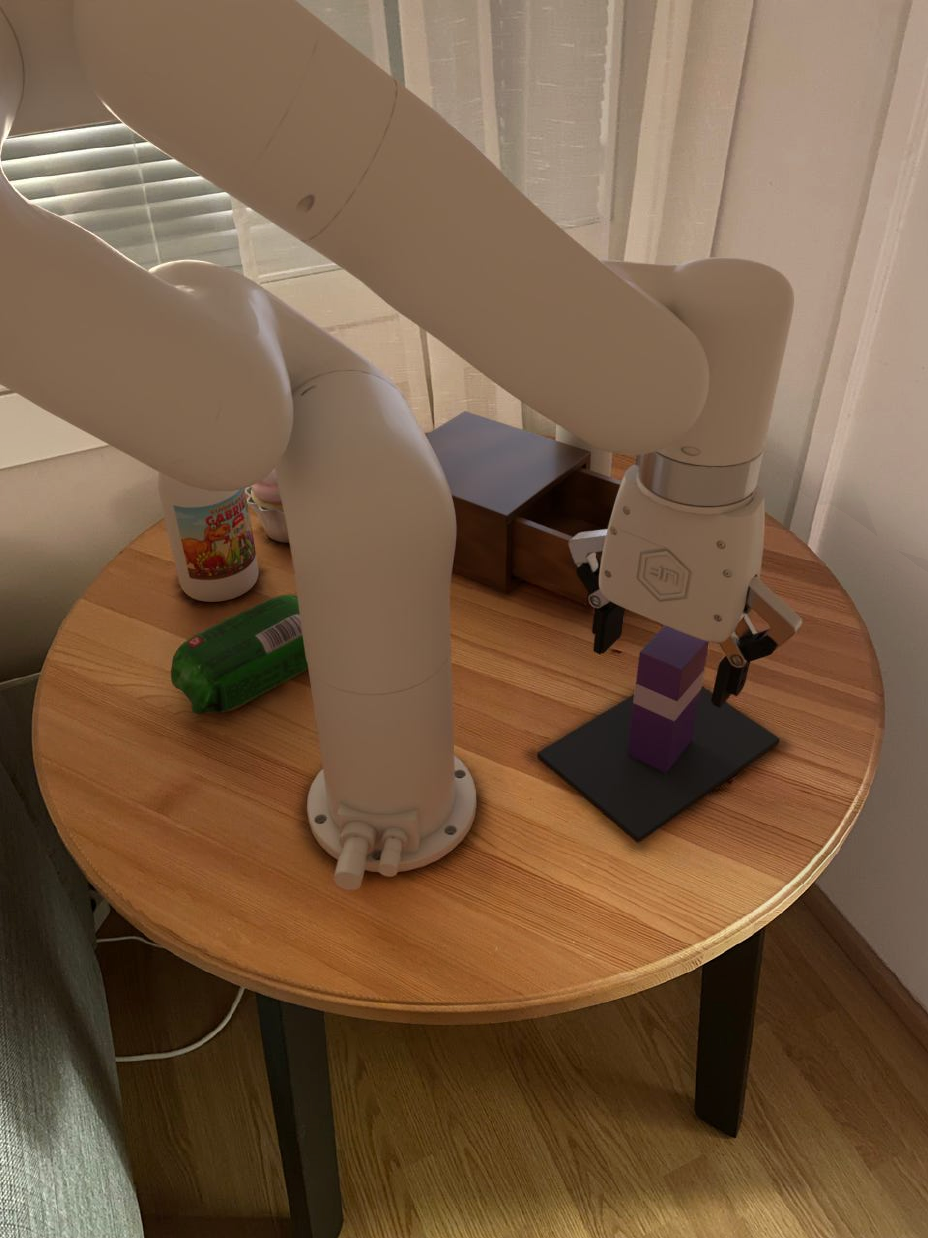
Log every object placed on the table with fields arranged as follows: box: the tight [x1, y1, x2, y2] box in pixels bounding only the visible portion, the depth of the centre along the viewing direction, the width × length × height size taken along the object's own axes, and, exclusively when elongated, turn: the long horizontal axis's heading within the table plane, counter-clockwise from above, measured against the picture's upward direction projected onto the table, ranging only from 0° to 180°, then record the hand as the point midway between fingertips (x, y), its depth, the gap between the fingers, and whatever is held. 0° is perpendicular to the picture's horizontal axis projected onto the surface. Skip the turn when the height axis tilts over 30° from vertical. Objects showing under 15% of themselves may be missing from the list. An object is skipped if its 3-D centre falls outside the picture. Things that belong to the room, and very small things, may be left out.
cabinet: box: [425, 410, 591, 594], centre depth 102 cm, size 16×15×9 cm
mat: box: [536, 685, 780, 844], centre depth 79 cm, size 16×11×1 cm
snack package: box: [170, 594, 309, 716], centre depth 86 cm, size 7×16×5 cm, turn 131°
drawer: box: [511, 467, 622, 606], centre depth 96 cm, size 19×14×7 cm
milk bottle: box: [156, 471, 260, 603], centre depth 93 cm, size 8×8×20 cm
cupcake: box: [245, 469, 290, 544], centre depth 103 cm, size 9×9×10 cm
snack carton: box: [627, 625, 710, 773], centre depth 76 cm, size 4×4×10 cm
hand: (664, 669), depth 74 cm, fingers open, 9 cm apart
